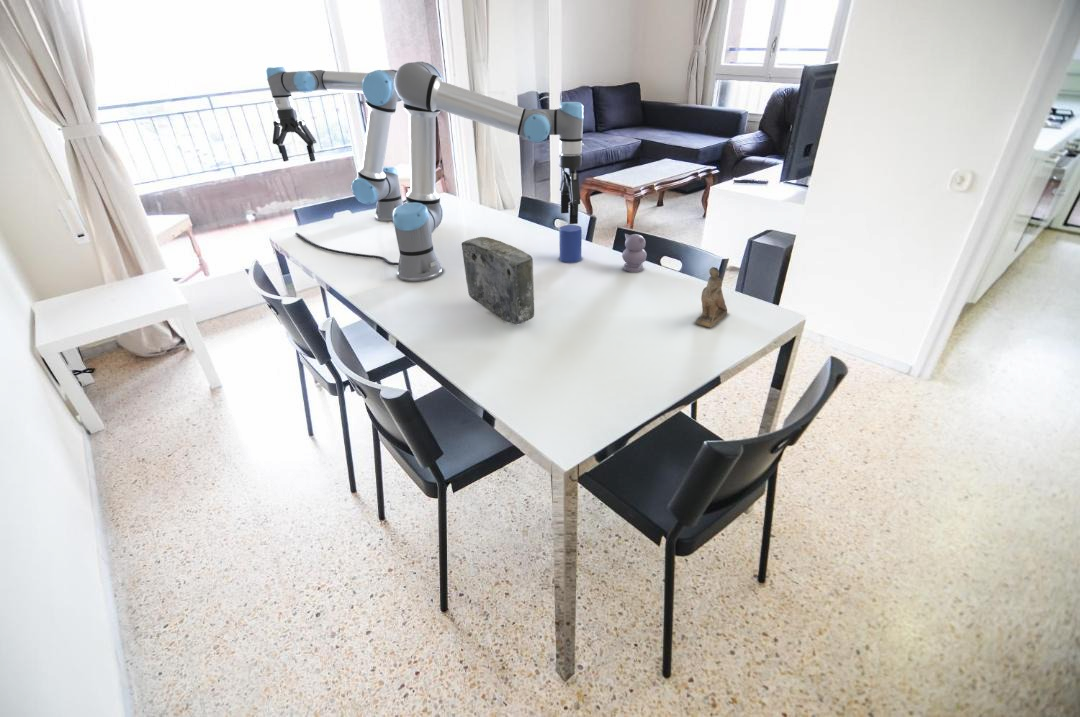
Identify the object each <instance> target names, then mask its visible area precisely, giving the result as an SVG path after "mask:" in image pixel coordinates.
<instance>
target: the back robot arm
mask: <svg viewBox="0 0 1080 717" xmlns="http://www.w3.org/2000/svg"><path fill="white" fill-rule="evenodd" d="M397 70H398V69H377V70H373V71H370V72H355V71H353V72H351V71H333V70H332V71H331V70H323V69H316V70H298V71H286V70H285V67H284V66H268V67H265V70H264V72H265V76H266V81H267V84H268V87H269V90H270V93H271V97H272V100H273V104H274V108H275V109H276V110H275V111H276V115H277V118H278V119H279V120H274V121H273V135H272V144H273V145H276V146H277V149H278V152H279V154H281V158H282V161H283V162H288V161H290V159H289V156H288V152H287V149H286V146H285V144H284V141H285V140H286V136H287V134H288V133H295V134H296V135H298V136H299V137H300V139H301V140H302V141H303V142H304V143H306V149H307V150H306V151H307V153H308V158H309V161H310V162H315V161H316V158H315V157H316V156H315V148H314V145H315V144H317V140H316V139H315V137H314V135H313V134H312V132H311V131H310V129H309V128H308V127H307V124H306V121H305V120H303V119H302V120H298V116H297V111H296V109H295V103H294V100H293V96H292V93H305V94H306V93H312V92H315V91H316V92H318V91H327V92H342V93H344V92H345V93H356V94H357V93H359V94H363V95H364V98H365V105H366V107H367V108H368V116H367V117H368V118H367V123H366V131H365V141H364V148H363V149H364V150H363V156H362V157H363V158H362V165H361V166H360V167H358V169H357V175H356V176H357V177H356V178H355V179H353V181H352V182H351V186H350V187H351V192H352V195H353V196H354V197H355V199H356V200H357V201H358V202H359V203H361V204H364V205H372V204H375V203H376V206H375V207H376V208H375V219H376V220H377V221H380V222H393V211H394V209H395V208H396V207H398V206H400V205H403V204H405V203H407V199H405V200H403V199H402V198H403V197H402V193H401V187H400V181H399V174H398V171H397V169H396V168H395V167H393V166H385V160H386V153H387V146H388V138H389V131H390V125H391V117H392V115H393V114H395V113H396V111H397V104H398V102H401V101H402V100H401V99H400V97H399V96H398V94H397V92H396V90H395V85H394V79H395V74H396V72H397ZM402 102H403V101H402Z"/></svg>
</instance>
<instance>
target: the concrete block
mask: <svg viewBox="0 0 1080 717" xmlns="http://www.w3.org/2000/svg"><path fill="white" fill-rule="evenodd" d="M461 251H462V257H463V258H462V259H463V266H464V273H465V280H466V285H467V291H468V293H467V294H468V296H469V298H471V299H472V300H473V301H475V302H477V304H479V305H480V306H482V307H483V308H485V309H486V310H487V311H489V312H491V313H492V314H493V315H495V316H496V317H498V318H500V319H501V320H503V321H505V322H506V323H507V322H508V323H510V324H513V325H521V324H523V323H526V322H528V321H529V320H532V319H533V318H534V317H535V292H534V290H535V289H534V288H535V287H534V259H533V256H532V255H530V253H527V252H525V251H523V250H521V249H519V248H517V247H515V246H513V245H511V244H508V243H505V242H503V241H500V240H498V239H494V238H490V237H486V236H477V237H474V238H470V239H467V240H465V241H463V242H461Z"/></svg>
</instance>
